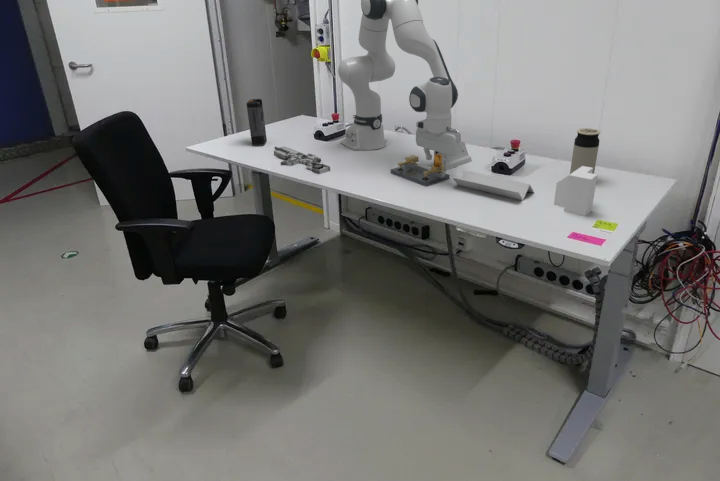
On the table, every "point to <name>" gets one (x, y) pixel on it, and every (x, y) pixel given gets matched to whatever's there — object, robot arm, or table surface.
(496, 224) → the table surface
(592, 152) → the travel mug
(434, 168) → the sliding leg
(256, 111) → the electronic device
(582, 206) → the corner bracket
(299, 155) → the gun
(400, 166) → the bolt plate
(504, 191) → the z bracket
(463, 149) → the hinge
